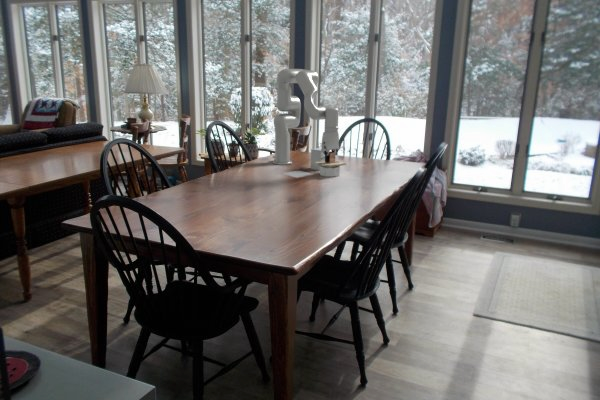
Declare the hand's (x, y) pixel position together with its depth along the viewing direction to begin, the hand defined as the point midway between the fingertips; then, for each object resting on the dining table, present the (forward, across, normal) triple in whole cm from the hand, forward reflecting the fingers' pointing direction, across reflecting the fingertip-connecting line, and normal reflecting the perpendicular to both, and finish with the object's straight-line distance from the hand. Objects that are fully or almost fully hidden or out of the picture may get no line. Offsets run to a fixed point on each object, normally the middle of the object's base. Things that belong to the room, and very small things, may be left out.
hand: (330, 161), depth 287 cm
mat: (+8, +14, -12) cm, 20 cm away
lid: (+2, 0, 0) cm, 2 cm away
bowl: (+8, 0, 0) cm, 8 cm away
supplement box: (+9, -6, -16) cm, 19 cm away
